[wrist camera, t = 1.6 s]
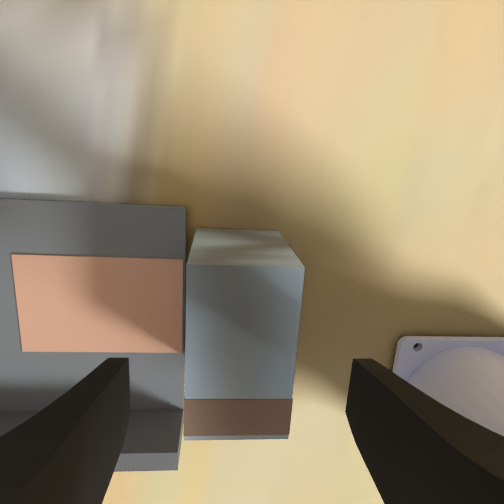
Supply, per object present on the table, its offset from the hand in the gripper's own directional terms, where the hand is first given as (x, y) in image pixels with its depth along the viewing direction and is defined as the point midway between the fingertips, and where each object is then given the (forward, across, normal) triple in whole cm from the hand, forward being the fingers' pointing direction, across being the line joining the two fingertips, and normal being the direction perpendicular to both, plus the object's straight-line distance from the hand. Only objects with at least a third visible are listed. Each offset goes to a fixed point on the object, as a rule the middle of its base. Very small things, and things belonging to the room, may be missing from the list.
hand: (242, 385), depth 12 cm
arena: (+8, +9, +2) cm, 12 cm away
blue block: (+8, 0, 0) cm, 8 cm away
